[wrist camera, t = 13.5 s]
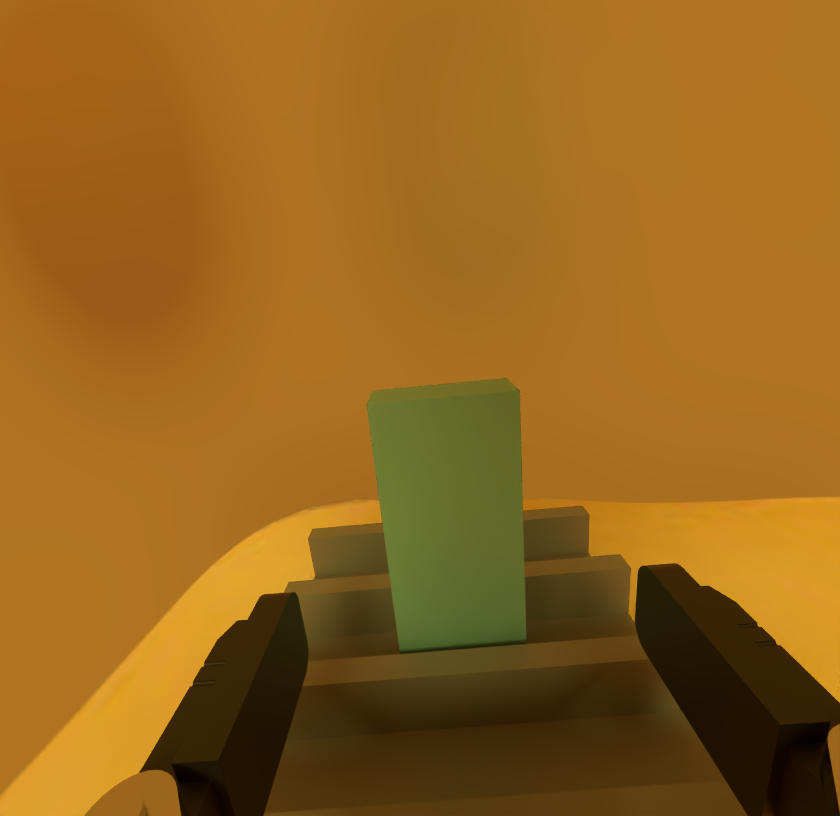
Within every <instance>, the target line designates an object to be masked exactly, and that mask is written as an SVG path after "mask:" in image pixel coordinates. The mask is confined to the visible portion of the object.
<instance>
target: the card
mask: <svg viewBox="0 0 840 816" xmlns="http://www.w3.org/2000/svg"><path fill="white" fill-rule="evenodd" d="M367 411H368V418H369V426H370V434H371V441H372V448H373V455H374V464H375V471H376V478H377V486H378V493H379V501H380V508H381V516H382V523H383V531H384V538H385V546H386V553H387V561H388V568H389V575H390V583H391V590H392V598H393V605H394V613H395V620H396V628H397V635H398V643H399V650H400V654H408V653H421V652H433V651H446V650H459V649H471V648H484V647H496V646H509V645H522V644H526V608H525V571H524V534H523V497H522V462H521V426H520V390H519V389H518V388H516V387H515V386H514V385H513V384H512V383H511V382H510V381H509V380H508V379H506V378H503V379H492V380H482V381H471V382H461V383H451V384H450V383H449V384H439V385H428V386H418V387H408V388H396V389H386V390H376V391H372V393H371V396H370V398H369V400H368V403H367Z"/></svg>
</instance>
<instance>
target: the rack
mask: <svg viewBox="0 0 840 816" xmlns="http://www.w3.org/2000/svg"><path fill="white" fill-rule="evenodd" d="M523 534H524V571H525V608H526V644H522V645H509V646H496V647H484V648H471V649H459V650H446V651H433V652H421V653H408V654H400V650H399V643H398V635H397V628H396V620H395V613H394V605H393V598H392V590H391V583H390V575H389V568H388V561H387V553H386V546H385V538H384V531H383V523H376V524H364V525H353V526H341V527H329V528H318V529H312V531H311V533H310V536H309V538H308V541H309V546H310V551H311V556H312V561H313V567H314V572H315V578H314V580H306V581H295V582H289V583H288V585H287V587H286V589H285V592H284V593H289V592H295V593H296V594H297V596H298V598H299V603H300V608H301V612H302V617H303V622H304V627H305V632H306V636H307V641H308V651H309V656H308V667H307V672H306V676H305V679H304V683H303V686H302V689H301V693H300V696H299V699H298V703H297V706H296V709H295V713H294V716H293V719H292V723H291V726H290V729H289V733H288V736H287V739H286V743H285V746H284V749H283V753H282V756H281V759H280V763H279V766H278V769H277V773H276V776H275V779H274V783H273V786H272V789H271V793H270V796H269V799H268V802H267V806H266V809H265V812H264V816H748V815H747V814H746V812H745V811H744V809H743V807H742V806H741V804H740V803H739V801H738V800H737V798H736V796H735V795H734V793H733V792H732V790H731V788H730V787H729V785H728V784H727V782H726V780H725V779H724V777H723V776H722V774H721V773H720V771H719V769H718V768H717V766H716V765H715V763H714V761H713V760H712V758H711V757H710V755H709V753H708V752H707V750H706V749H705V747H704V746H703V744H702V742H701V741H700V739H699V738H698V736H697V734H696V733H695V731H694V730H693V728H692V726H691V725H690V723H689V722H688V720H687V719H686V717H685V715H684V714H683V712H682V711H681V709H680V707H679V706H678V704H677V703H676V701H675V699H674V698H673V696H672V695H671V693H670V691H669V690H668V688H667V687H666V685H665V684H664V682H663V680H662V679H661V677H660V676H659V674H658V672H657V671H656V669H655V668H654V666H653V664H652V663H651V661H650V660H649V658H648V657H647V655H646V653H645V652H644V650H643V648H642V646H641V644H640V641H639V638H638V635H637V631H636V626H635V623H634V621H633V620H632V618H631V617H630V615H629V614H628V608H629V591H630V573H631V568H630V566H629V565H628V564H627V562H626V561H625V560H624V559H623V557H622V556H621V555H620V554H618V555H606V556H594V557H591V556H590V555H589V553H588V548H589V514H588V512H587V511H586V510H585V509H584V507H583V506H574V507H562V508H550V509H539V510H527V511H523Z"/></svg>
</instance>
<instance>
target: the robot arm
mask: <svg viewBox="0 0 840 816" xmlns="http://www.w3.org/2000/svg"><path fill="white" fill-rule="evenodd" d="M635 626H636V631H637V635H638V638H639V641H640V644H641V646H642V648H643V650H644V652H645V653H646V655H647V657H648V658H649V660H650V661H651V663H652V664H653V666H654V668H655V669H656V671H657V672H658V674H659V676H660V677H661V679H662V680H663V682H664V684H665V685H666V687H667V688H668V690H669V691H670V693H671V695H672V696H673V698H674V699H675V701H676V703H677V704H678V706H679V707H680V709H681V711H682V712H683V714H684V715H685V717H686V719H687V720H688V722H689V723H690V725H691V726H692V728H693V730H694V731H695V733H696V734H697V736H698V738H699V739H700V741H701V742H702V744H703V746H704V747H705V749H706V750H707V752H708V753H709V755H710V757H711V758H712V760H713V761H714V763H715V765H716V766H717V768H718V769H719V771H720V773H721V774H722V776H723V777H724V779H725V780H726V782H727V784H728V785H729V787H730V788H731V790H732V792H733V793H734V795H735V796H736V798H737V800H738V801H739V803H740V804H741V806H742V807H743V809H744V811H745V812H746V814H747V815H748V816H840V703H839V702H838V701H837V700H836V699H835V698H834V697H833V696H832V695H831V694H830V693H829V692H828V691H827V690H826V689H825V688H824V687H823V686H822V685H821V684H820V683H819V682H817V681H816V680H815V679H814V678H813V677H812V676H811V675H810V674H809V673H808V672H807V671H806V670H805V669H804V668H803V667H802V666H801V665H800V664H799V663H798V662H797V661H796V660H795V659H794V658H793V657H792V656H791V655H790V654H789V653H788V652H787V651H786V650H785V649H784V648H783V647H781V646H780V645H779V646H778V645H777V644H776V641H775V640H774V639H773V638H772V637H771V636H770V635H769V634H768V633H767V632H766V631H765V630H764V629H763V628H762V627H758V625H757V622H756V621H755V620H754V619H753V618H752V617H751V616H750V615H749V614H748V613H747V612H745V611H744V610H743V609H742V608H741V607H740V606H739V605H738V604H737V603H736V602H735V601H733V600H732V599H730V598H728V597H727V596H725V595H723V594H722V593H720V592H718V591H717V590H715V589H713V588H712V587H710V586H700V585H699V584H698V583H697V582H696V581H695V580H694V579H693V578H692V577H691V576H690V575H689V574H688V573H687V572H686V571H685V569H684V568H682V567H681V566H680V565H678V564H675V563H673V564H660V565H648V566H641V567H640V568H639V571H638V580H637V596H636V612H635ZM308 656H309V651H308V641H307V636H306V632H305V627H304V622H303V617H302V612H301V608H300V603H299V598H298V596H297V594H296V593H295V592H289V593H276V594H264V595H262V596H261V597H260V598H259V599H258V601H257V603H256V605H255V607H254V609H253V611H252V612H251V614H250V616H249V618H248V620H239V621H236V622H235V623H234V624H233V625H232V626H231V627H230V628H229V629H228V630H227V631H226V632H225V633H224V634H223V635H222V636H221V637H220V638H219V639H218V640H217V642H216V643H215V645H214V647H213V648H212V650H211V652H210V654H209V655H208V657H207V659H206V660H205V662H204V667H201V669H200V671H199V672H198V674H197V676H196V677H195V679H194V681H193V686H192V687H190V688H189V689H188V691H187V693H186V694H185V696H184V698H183V700H182V701H181V703H180V705H179V706H178V708H177V710H176V711H175V713H174V715H173V717H172V718H171V720H170V722H169V723H168V725H167V727H166V728H165V730H164V732H163V734H162V735H161V737H160V739H159V740H158V742H157V744H156V745H155V747H154V749H153V751H152V752H151V754H150V756H149V757H148V759H147V761H146V763H145V764H144V766H143V767H142V769H141V770H140V772H139V773H138V774H136V775H134V776H131V777H129V778H128V779H126V780H124V781H122V782H121V783H119V784H118V785H116V786H115V787H113V788H112V789H111V790H110V791H108V792H107V793H106V794H105V795H103V796H102V797H101V798H100V799H99V800H98V801H97V802H96V803H95V804H94V805H93V806H92V807H91V809H90V810H89V811H88V812H87V813H86V814H85V816H264V812H265V809H266V806H267V802H268V799H269V796H270V793H271V789H272V786H273V783H274V779H275V776H276V773H277V769H278V766H279V763H280V759H281V756H282V753H283V749H284V746H285V743H286V739H287V736H288V733H289V729H290V726H291V723H292V719H293V716H294V713H295V709H296V706H297V703H298V699H299V696H300V693H301V689H302V686H303V683H304V679H305V676H306V672H307V667H308Z"/></svg>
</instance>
